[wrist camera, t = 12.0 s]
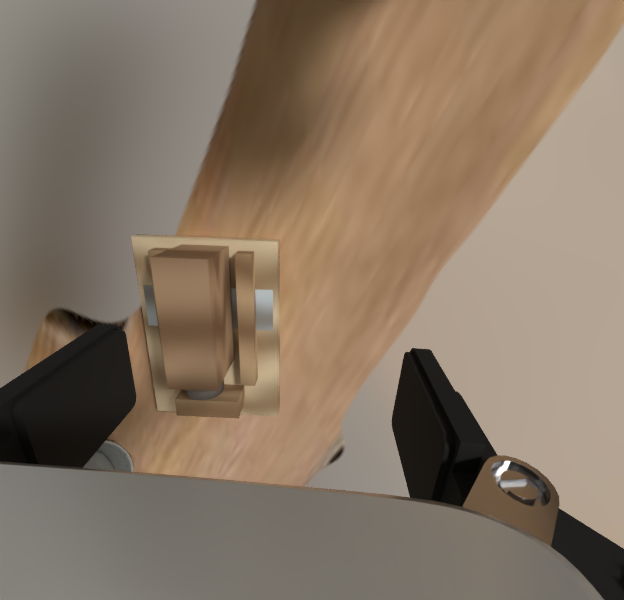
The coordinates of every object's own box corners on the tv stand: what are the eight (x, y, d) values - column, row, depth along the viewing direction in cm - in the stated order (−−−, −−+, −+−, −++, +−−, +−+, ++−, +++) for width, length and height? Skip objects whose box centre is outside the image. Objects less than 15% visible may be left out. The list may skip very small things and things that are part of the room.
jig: (137, 234, 32) (111, 241, 28) (279, 239, 31) (273, 247, 27) (162, 404, 38) (144, 429, 34) (279, 409, 38) (274, 435, 34)
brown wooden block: (181, 244, 31) (149, 257, 25) (228, 246, 30) (207, 259, 25) (194, 372, 35) (170, 407, 30) (235, 373, 35) (218, 409, 29)
